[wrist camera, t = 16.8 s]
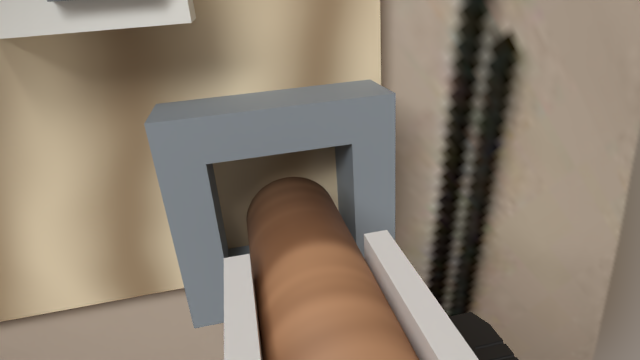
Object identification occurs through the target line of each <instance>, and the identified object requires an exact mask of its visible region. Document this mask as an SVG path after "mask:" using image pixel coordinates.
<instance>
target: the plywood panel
mask: <svg viewBox="0 0 640 360" xmlns="http://www.w3.org/2000/svg"><path fill="white" fill-rule="evenodd" d="M193 3H194V9H195V14H196V19H195V20H194V21H193V22H192V23H184V24H173V25H161V26H149V27H137V28H125V29H113V30H101V31H89V32H77V33H65V34H53V35H41V36H29V37H17V38H5V39H0V322H2V321H8V320H13V319H18V318H24V317H29V316H35V315H40V314H46V313H51V312H56V311H62V310H67V309H73V308H78V307H83V306H89V305H94V304H100V303H105V302H111V301H116V300H121V299H127V298H132V297H138V296H143V295H149V294H154V293H159V292H165V291H170V290H176V289H181V288H184V284H183V280H182V276H181V272H180V268H179V264H178V260H177V256H176V252H175V248H174V244H173V240H172V236H171V231H170V227H169V223H168V219H167V215H166V211H165V207H164V203H163V199H162V195H161V191H160V187H159V183H158V179H157V174H156V170H155V166H154V162H153V158H152V154H151V150H150V146H149V142H148V138H147V134H146V130H145V126H144V123H145V121H146V120H147V118H148V116H149V115H150V113H151V111H152V110H153V108H154V106H155V105H156V104H159V103H168V102H177V101H185V100H194V99H203V98H212V97H220V96H229V95H238V94H247V93H255V92H264V91H273V90H282V89H290V88H299V87H308V86H317V85H325V84H334V83H343V82H352V81H360V80H369V79H370V80H372V81H374V82H376V83H378V84H379V85H381V33H380V0H193ZM212 164H213V169H214V175H215V180H216V185H217V191H218V196H219V202H220V207H221V212H222V218H223V223H224V229H225V234H226V239H227V245H228V249H230V248H236V247H242V246H248V245H249V241H248V231H247V221H246V219H247V211H248V208H249V205H250V203H251V201H252V199H253V198H254V196H255V195H256V194H257V193H258V192H259V191H260V190H261V189H262V188H263V187H264V186H266V185H268V184H269V183H271V182H273V181H275V180H278V179H281V178H286V177H303V178H307V179H310V180H313V181H315V182H317V183H318V184H320V185H321V186H322V187H323V188H325V190H326V191H327V192H328V193H329V195H330V196H331V198H332V200H333V202H334V204H335V205H336V207H337V209H338V192H337V175H336V158H335V146H334V147H327V148H320V149H312V150H305V151H298V152H291V153H284V154H276V155H269V156H262V157H255V158H248V159H241V160H233V161H226V162H219V163H212ZM338 211H339V209H338Z"/></svg>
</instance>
